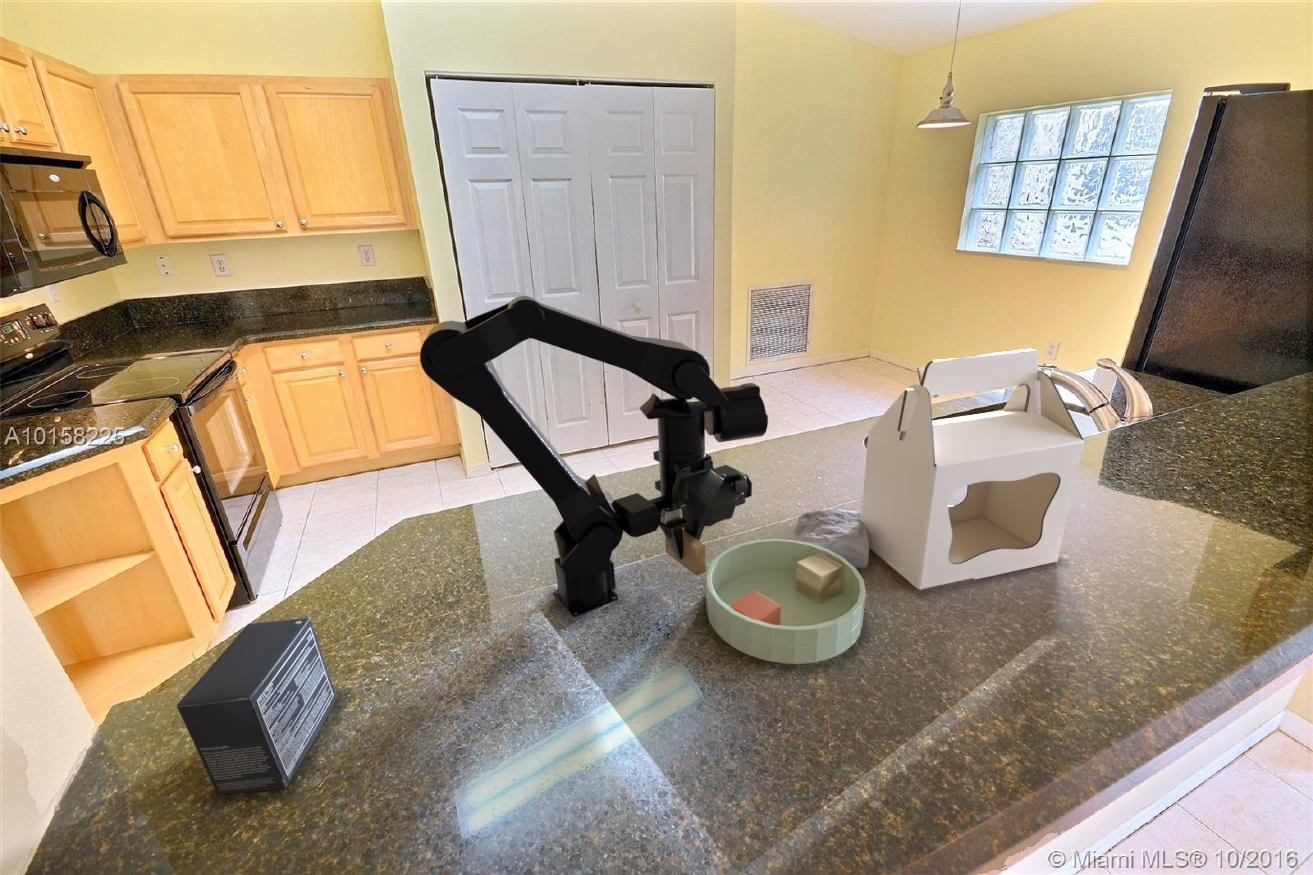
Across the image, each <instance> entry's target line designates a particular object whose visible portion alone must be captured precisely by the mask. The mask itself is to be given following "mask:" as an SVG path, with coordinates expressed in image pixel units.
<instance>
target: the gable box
mask: <svg viewBox="0 0 1313 875" xmlns="http://www.w3.org/2000/svg"><path fill="white" fill-rule="evenodd" d="M1039 357H1040V354H1039V352H1038V350H1035V349H1032V348H1027V349H1018V350H1012V351H1001V352H993V353H985V354H978V355H969V356H968V355H967V356H960V357H953V358H952V357H950V358H944V359H943V358H942V359H935V360H934V359H933V360H931V361H929V362H927V364H926V365H925V366H921V367H917V368H916V370H917V374H918V375H917V376H918V380H919V384H918V383H917V384H911V385H909V386H907V387H906V388H905V389H904V390H903V392H902V393H901V394H900V395H899V396H898V397H897V399H895V401H894V402H893V403H892V404H891V405H890V406H889V408H887V409H886V411H885V412H884V413H883V414H882V415H881V417H880V418H879V419H878V420H877V421H876V422H875V423H874V425H872V427H871V428H870V429H869V430H868V434H867V443H866V455H865V456H866V457H865V469H864V478H863V479H864V480H863V490H862V503H861V521H862V522H863V524H864V527H865V529H866V532H867V536H868V542H869V550H871V551H872V552H873V553H875V554H876V555H877V556H878V557H879V558H881V559H882V560H883V561H884V562H885V563H886V564H887V565H889V566H890V567H891V568H892V569H894V570H895V571H896V572H897V573H898V574H900V575H901V576H902V578H904V579H905V580H906V581H908V582H909V583H910V584H911V585H912V586H913V587H915V588H916V589H917V590H924V589H929V588H932V587H938V586H942V585H948V584H951V583H956V582H961V581H966V580H969V579H973V580H980V579H985V578H990V577H994V576H999V575H1003V574H1008V573H1013V572H1017V571H1022V570H1025V569H1029V568H1035V567H1039V566H1045V565H1049V564H1053V563H1057V562H1058V561H1059V556H1060V551H1061V548H1062V543H1063V538H1064V535H1065V530H1066V525H1067V521H1068V516H1069V512H1070V509H1071V508H1070V507H1071V504H1072V500H1073V494H1074V490H1075V486H1076V482H1077V477H1078V473H1079V468H1080V464H1081V459H1082V455H1083V452H1084V447H1085V440H1084V437H1083V436H1082V434H1081V432H1080V430H1079V428H1078V427H1077V424H1076V423H1075V420H1074V418H1073V417H1072V415H1071V413H1070V411H1069V409H1068V406H1067V405H1066V403H1065V402H1064V399H1063V398H1062V396H1061V394H1060V392H1059V390H1058V388H1057V386H1056V384H1055V382H1054V380H1053V379H1052V378H1051V375H1052V372H1051V371H1050V370H1044V371H1042V370H1039V359H1040V358H1039ZM1010 387H1011V388H1012V387H1015V388H1014V390H1013V392H1012V393H1011V395H1010V396H1009V398H1008V400H1007V402H1006V404H1005V405H1004V407H1003V409H1002V410H998V411H997V410H996V411H990V412H984V413H982V412H981V413H977V414H969V415H961V416H954V417H949V418H948V417H947V418H942V419H941V418H940V419H935V420H933V411H932V410H933V409H932V399H936V398H937V397H942V396H950V395H957V394H966V393H972V392H980V391H988V390H995V389H996V390H997V389H1002V388H1010ZM1039 412H1040V413H1039ZM964 487H967V488H966V495H965V497H964V499H963V500H962V501H961V502H960V503H958V504H954V505H950V502H951V499H953V497H954V495H955V494H956V493H957V492H958V491H960V490H961V489H963V488H964Z"/></svg>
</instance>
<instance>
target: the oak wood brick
mask: <svg viewBox="0 0 1313 875" xmlns="http://www.w3.org/2000/svg"><path fill="white" fill-rule="evenodd" d="M664 540H665V541H664V542H665V553H666V554H667V555H669V556H670V557H671V558H672V559H673V560H674V561H676V562H677V563H678V564H680V565H681V566H682V567H684V568H685V569H687V570H688V571H689V572H690V573H692V574H693V575H694V576H695V577H696V576H697V577H698V576H700V575H702V574H704V573H707V559H706V557H707V556H706V553H707V552H706V544H704V543H703V542H701V540H697V539H696V538H694V537H693V536H691V535H690V534H688V533H687V532H686V531H684V529H683V559H681V560H680V559H678V558H677V557H676V556H675V554H674V552H673V550H672V548H671V546H670V544H669V542H668V540H667V538H666V536H665V535H664Z"/></svg>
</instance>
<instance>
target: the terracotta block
mask: <svg viewBox="0 0 1313 875" xmlns="http://www.w3.org/2000/svg"><path fill="white" fill-rule="evenodd" d="M730 608H732V609H733V610H734V611H736V612H738V613H740V614H742V615H745V616H747V617H749V618H751V619H754V620H758V621H761V622H765V623H769V624H773V625H780V613H781V606H780V605H778V604H777V603H775V602H773V601H771V600H770V599H768V598H766V597H765V596H763V595H761V594H760V593H758V592H756V591H755V590H754V591H752V592H750V593H749V594H747V595H745V596H743V597H742V598H740V599H738V600H737V601H735V602H733V603H732V604H730Z"/></svg>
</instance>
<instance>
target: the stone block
mask: <svg viewBox="0 0 1313 875" xmlns="http://www.w3.org/2000/svg"><path fill="white" fill-rule="evenodd" d="M861 512H862V510H858V511H853V510H848V509H840V508H819V509H814V510H808V511H806V512H804V513H802V514H800V515H799V516H798V519H797V524H796V526H795V529H794V535H793V540H796V541H801V542H806V543H810V544H814V545H817V546H819V547H822V548H825V549H828V550H830V551H832V552H834V553H835V554H837V555H839V556H841V557H843V558H844V559H846V560H847V561H848V562H849V563H850V564H851V565H853V566H854V567H855V568H856V569H867V567H868V566H869V556H870V548H869V542H868V536H867V532H866V529H865V527H864V524H863V522H862V521H861Z"/></svg>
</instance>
